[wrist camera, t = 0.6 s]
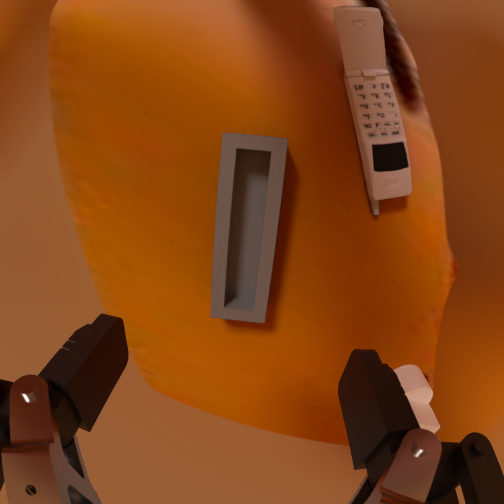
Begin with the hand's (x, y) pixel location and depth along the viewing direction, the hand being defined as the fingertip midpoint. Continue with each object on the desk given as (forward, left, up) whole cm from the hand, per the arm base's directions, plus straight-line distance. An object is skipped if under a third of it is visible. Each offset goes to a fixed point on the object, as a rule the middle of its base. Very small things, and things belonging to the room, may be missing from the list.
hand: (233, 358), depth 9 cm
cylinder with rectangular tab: (+27, +29, -25) cm, 47 cm away
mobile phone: (-14, +12, -26) cm, 32 cm away
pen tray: (+2, -1, -25) cm, 25 cm away
